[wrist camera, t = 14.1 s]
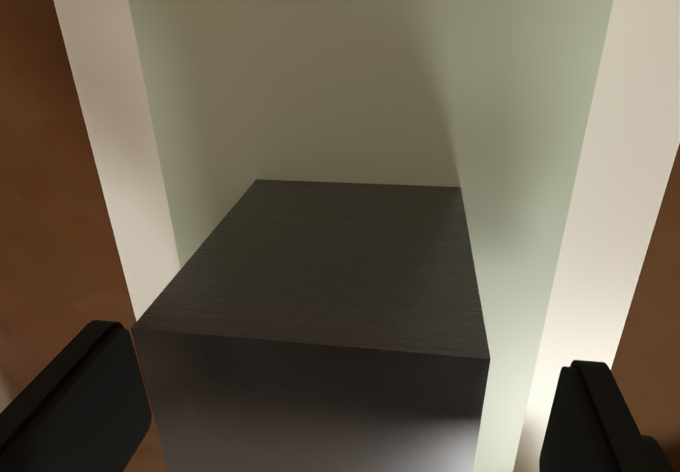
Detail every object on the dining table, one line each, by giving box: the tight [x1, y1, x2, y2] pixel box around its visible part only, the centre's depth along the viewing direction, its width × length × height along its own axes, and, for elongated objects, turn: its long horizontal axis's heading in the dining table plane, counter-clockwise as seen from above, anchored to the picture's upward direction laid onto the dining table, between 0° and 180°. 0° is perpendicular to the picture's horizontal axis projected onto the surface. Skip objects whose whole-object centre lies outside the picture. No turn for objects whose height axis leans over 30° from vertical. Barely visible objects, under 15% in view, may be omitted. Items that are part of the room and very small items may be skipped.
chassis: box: [53, 0, 680, 472], centre depth 13 cm, size 15×21×5 cm
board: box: [128, 0, 613, 472], centre depth 11 cm, size 10×16×7 cm, turn 1°
